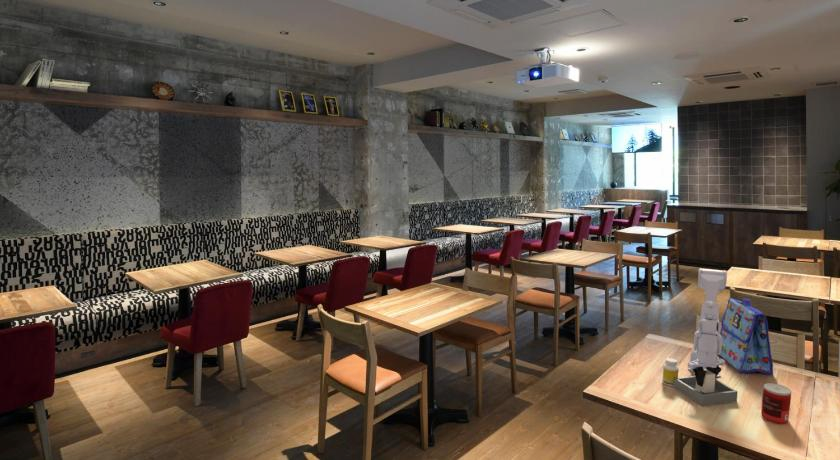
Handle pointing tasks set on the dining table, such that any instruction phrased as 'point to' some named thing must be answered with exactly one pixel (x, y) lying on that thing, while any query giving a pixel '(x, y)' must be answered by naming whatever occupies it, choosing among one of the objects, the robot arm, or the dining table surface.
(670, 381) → the supplement bottle
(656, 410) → the dining table surface
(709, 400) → the tray
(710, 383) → the juice carton
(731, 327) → the lunch bag
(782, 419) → the canned food
